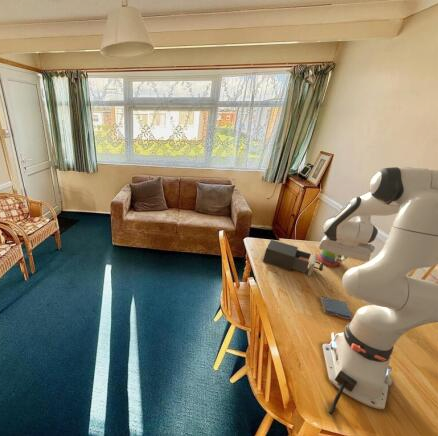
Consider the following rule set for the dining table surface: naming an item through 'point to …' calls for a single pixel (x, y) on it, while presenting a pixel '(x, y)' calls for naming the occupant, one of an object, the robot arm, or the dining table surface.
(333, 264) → the stacking bear
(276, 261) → the cabinet
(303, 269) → the drawer
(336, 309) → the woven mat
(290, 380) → the dining table surface
